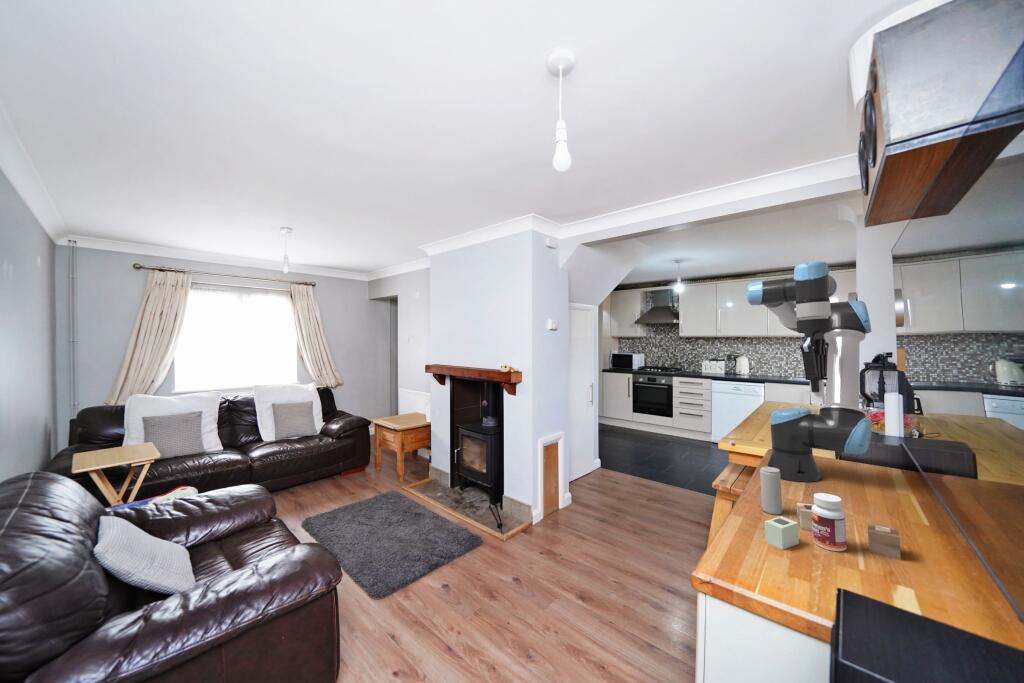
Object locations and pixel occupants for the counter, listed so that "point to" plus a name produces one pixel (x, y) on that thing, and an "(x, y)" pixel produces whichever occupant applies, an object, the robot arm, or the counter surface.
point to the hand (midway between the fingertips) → (817, 403)
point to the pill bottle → (829, 522)
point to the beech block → (804, 516)
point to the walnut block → (884, 541)
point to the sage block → (781, 532)
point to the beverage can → (771, 490)
